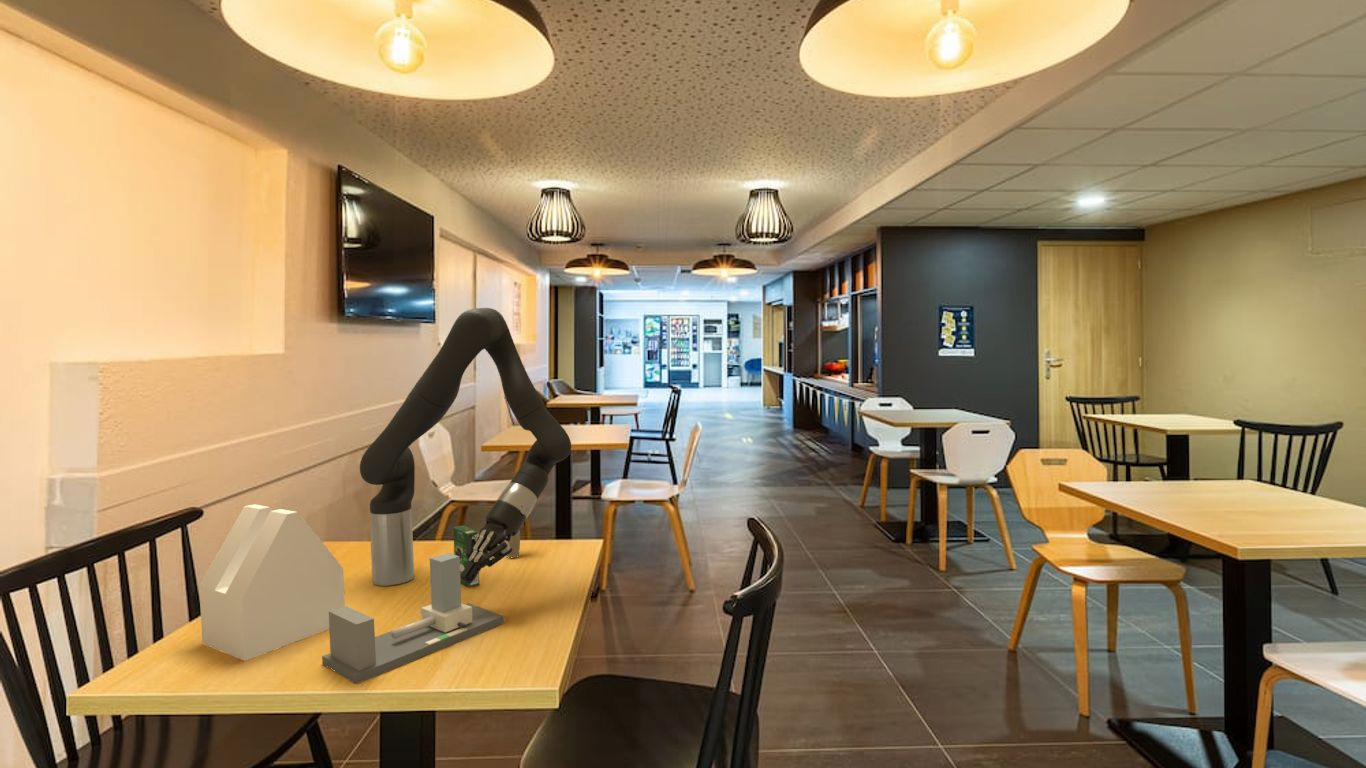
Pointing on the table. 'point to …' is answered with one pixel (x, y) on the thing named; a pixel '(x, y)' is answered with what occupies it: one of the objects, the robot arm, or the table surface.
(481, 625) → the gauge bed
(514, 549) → the handle
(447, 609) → the gauge slider
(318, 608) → the white house-shaped block
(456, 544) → the coffee box
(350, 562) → the table surface
